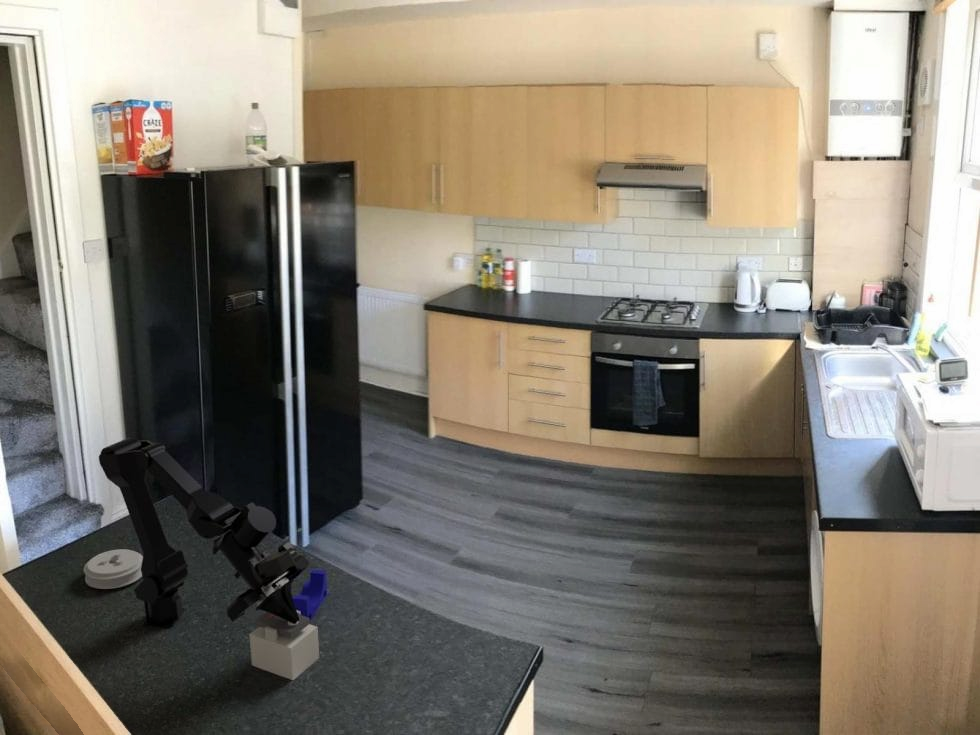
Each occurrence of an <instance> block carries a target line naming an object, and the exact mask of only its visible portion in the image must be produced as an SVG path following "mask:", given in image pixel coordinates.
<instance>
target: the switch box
mask: <svg viewBox="0 0 980 735" xmlns="http://www.w3.org/2000/svg"><path fill="white" fill-rule="evenodd" d="M297 613H298V614H300V615H301V611H298V610H297ZM318 630H319V629H318V626H316V625H313V624H311V623H310V624H309V625H307V626H306V627H305V628H304V629H302V630H301V631H300V632H299V633H297V634H296V635H295V636H294V637H292V638H289V637H286V636H283V635H281V634H278V633H277V629H274V628H271V627H268V626H266V627H265V628H262V627H260V626H257V628H255V629H254V630H252V631H251V632H250V633H249V634H248V635H249V645H250V656H251V657H250V658H251V666H253V667H255V668H258V669H260V670H263V671H266V672H269V673H272V674H273V675H278V676H280V677H283V678H286V679H288V680H291V681H294V680H295V679H297V678H298V677H299V676H301V675H302V673H303V672H305V671H306V670H307V669H308V668H310V667H311V666H312V665H313V664H314V663H315V662H317V661H318V660H319V659H320V652H319V651H320V648H319V647H320V646H319V632H318Z"/></svg>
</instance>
